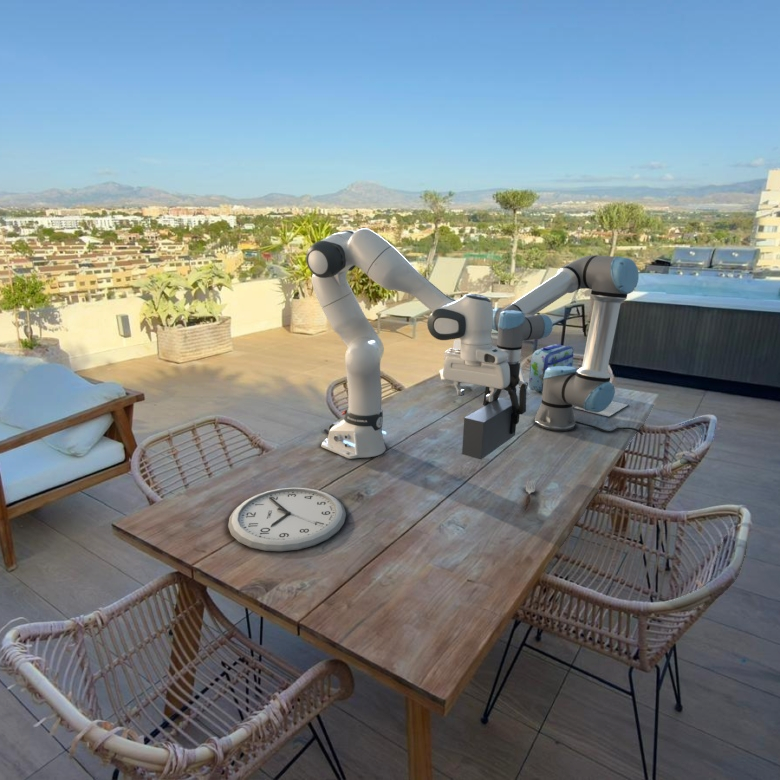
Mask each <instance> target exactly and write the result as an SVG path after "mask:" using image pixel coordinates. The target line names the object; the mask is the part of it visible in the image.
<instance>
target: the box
mask: <svg viewBox="0 0 780 780" xmlns="http://www.w3.org/2000/svg"><path fill="white" fill-rule="evenodd" d="M513 413H514V412H513V408H512V403H511V399H510V398H509V399H508V398H504V397H498V399H497V400H495V401H493V402H491V403H490V404H488V405H486V406H484V405H483V407H481V408H479V409H477V410H475V411H474V412H472V413H470V414H468V415H466V416H464V418H463V432H462V433H463V434H462V447H461V450H462V451H461V452H462V453H461V455H462V456H463V455H464V456H467V457H470V458H474V459H477V460H480V461H481V460H483V459H485V458H486V457H488V455H490V454H491V453H493V452H494V451H496V450H497V449H498V448H500V447H501V446H502V445H504V444H505V443H506V442H508V441H509V440H511V439H512V438H514V437H515V436H516V431H517V430H516V429H517V428H516V429H515V432H514V433H513V434H510V424H511V414H513Z"/></svg>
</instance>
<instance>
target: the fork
mask: <svg viewBox="0 0 780 780" xmlns="http://www.w3.org/2000/svg"><path fill="white" fill-rule="evenodd" d="M536 483H537V480H536V479H535V480H534V482H532V479H530V481H529V478H527V482H526V487H525V492H526V493H528V495H527V496H526V497H525V510H526V511H527V509H528V507H529V504H530V502H531V494H532V493H535V491H536Z"/></svg>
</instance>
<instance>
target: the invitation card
mask: <svg viewBox="0 0 780 780" xmlns="http://www.w3.org/2000/svg"><path fill="white" fill-rule="evenodd" d="M628 406H629V404H627V403H623V402H618V401H614V400H612V402H611V403H610V405H609V406H608V407H607V408H606V409H604V410H603V411H601V412H592V411H587V410H585V409H583V408H580V407H577V406H574V407H573V409H575V410H581V411H584V412H587V413H593V414H596V415H600V416H604V417H608V418H609V417H611V416H613V415H614V414H616V413H617V412H619V411H621V410H623V409H624V408H626V407H628Z"/></svg>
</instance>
